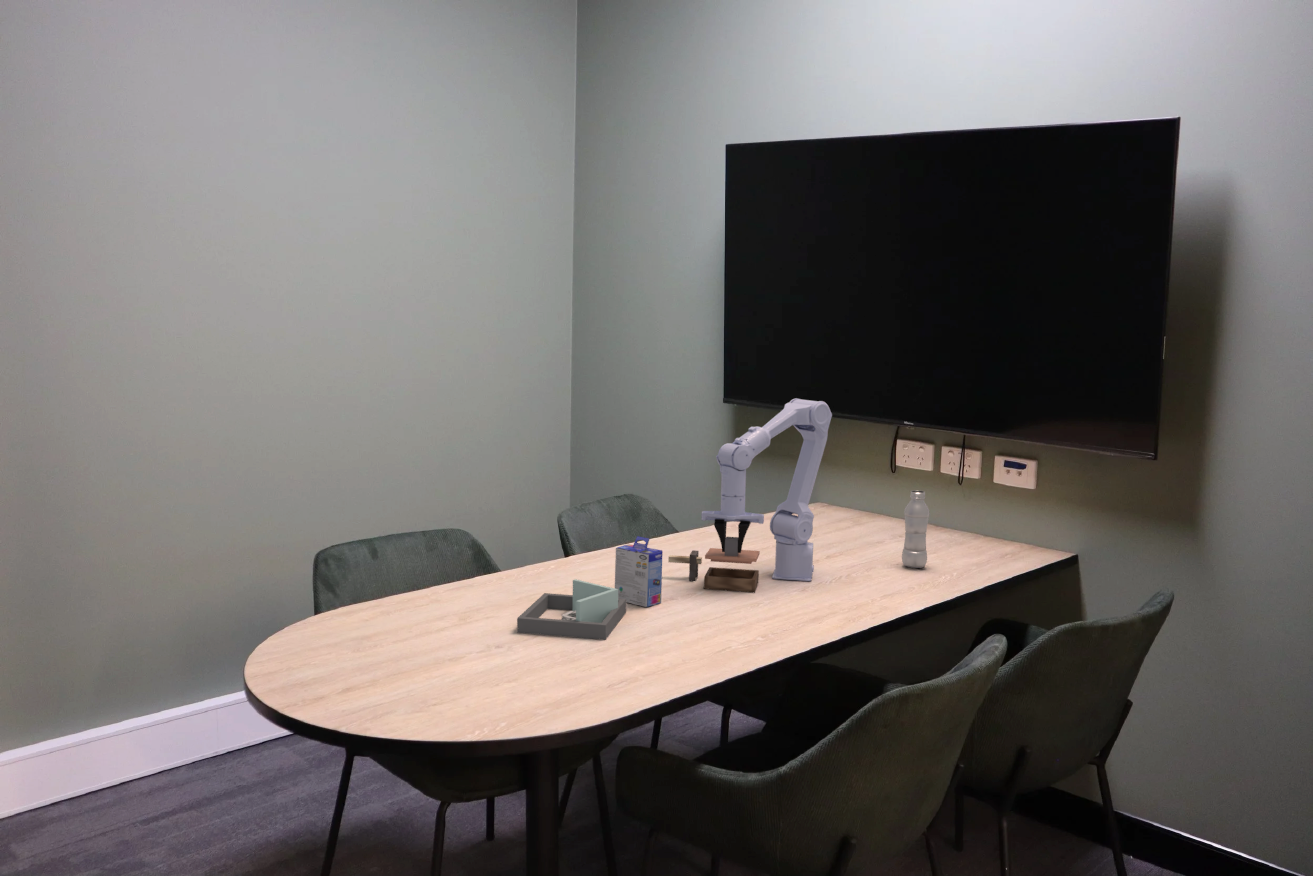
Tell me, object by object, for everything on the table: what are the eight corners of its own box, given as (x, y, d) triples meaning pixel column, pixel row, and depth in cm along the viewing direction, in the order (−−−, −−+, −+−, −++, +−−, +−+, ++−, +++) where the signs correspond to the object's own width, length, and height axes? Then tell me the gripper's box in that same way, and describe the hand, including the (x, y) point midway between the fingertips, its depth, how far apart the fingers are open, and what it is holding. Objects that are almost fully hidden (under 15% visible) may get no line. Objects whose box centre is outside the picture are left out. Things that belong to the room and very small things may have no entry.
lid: (759, 557, 241) (760, 534, 241) (755, 565, 233) (756, 541, 232) (710, 554, 244) (710, 531, 243) (704, 562, 235) (705, 538, 234)
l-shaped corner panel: (575, 612, 218) (575, 579, 217) (617, 624, 210) (618, 589, 209) (536, 626, 208) (536, 590, 207) (579, 638, 201) (580, 602, 200)
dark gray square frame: (626, 612, 217) (626, 599, 216) (605, 639, 199) (605, 625, 198) (544, 606, 220) (544, 593, 220) (517, 632, 202) (517, 618, 202)
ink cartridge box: (663, 603, 224) (664, 539, 223) (647, 608, 220) (649, 544, 218) (628, 594, 230) (629, 533, 228) (613, 600, 226) (614, 537, 224)
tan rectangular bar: (701, 562, 244) (701, 557, 244) (700, 564, 243) (701, 558, 243) (669, 560, 246) (669, 555, 246) (668, 562, 244) (668, 556, 244)
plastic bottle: (924, 564, 262) (928, 489, 260) (928, 571, 255) (933, 494, 253) (899, 563, 263) (903, 488, 260) (903, 570, 256) (907, 493, 253)
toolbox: (758, 581, 244) (759, 554, 243) (754, 592, 234) (755, 565, 233) (691, 576, 247) (692, 550, 246) (685, 587, 237) (685, 560, 236)
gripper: (700, 496, 232) (698, 553, 234) (762, 499, 229) (761, 557, 231) (704, 491, 239) (703, 546, 240) (765, 494, 236) (763, 550, 238)
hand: (731, 551), depth 236 cm, fingers closed on lid, 3 cm apart
